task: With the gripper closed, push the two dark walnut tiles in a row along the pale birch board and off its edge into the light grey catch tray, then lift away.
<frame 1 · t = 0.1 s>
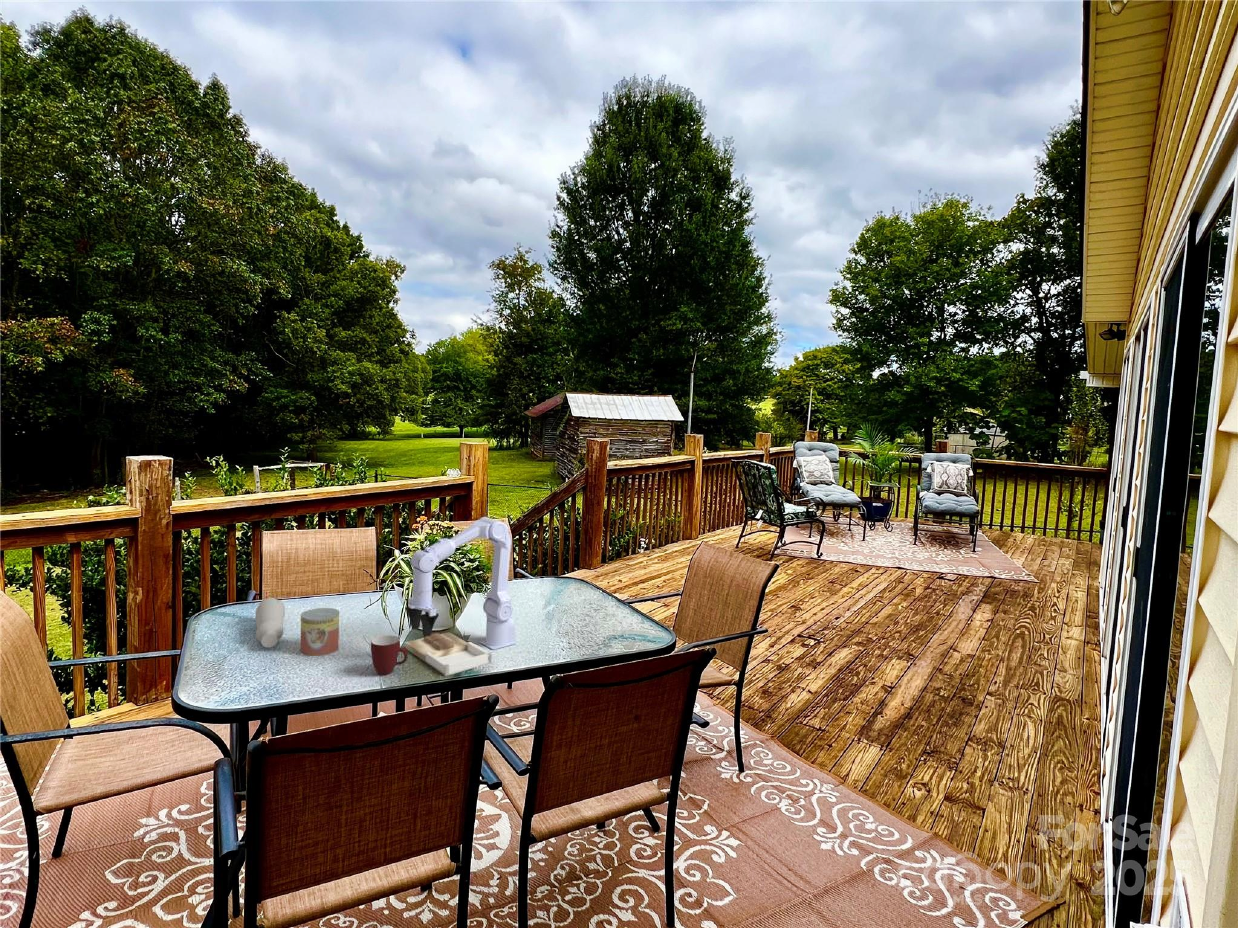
hand: (421, 632, 196), 10 cm above the table, tool pointing down, fingers open, 7 cm apart
tray: (458, 662, 199), on the table
tile 2: (443, 646, 206), point 2 cm above the table, touching board
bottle: (268, 636, 212), on the table
canned food: (319, 650, 203), on the table
board: (437, 649, 209), on the table
mug: (389, 672, 189), on the table
tile 1: (434, 641, 210), point 2 cm above the table, touching board
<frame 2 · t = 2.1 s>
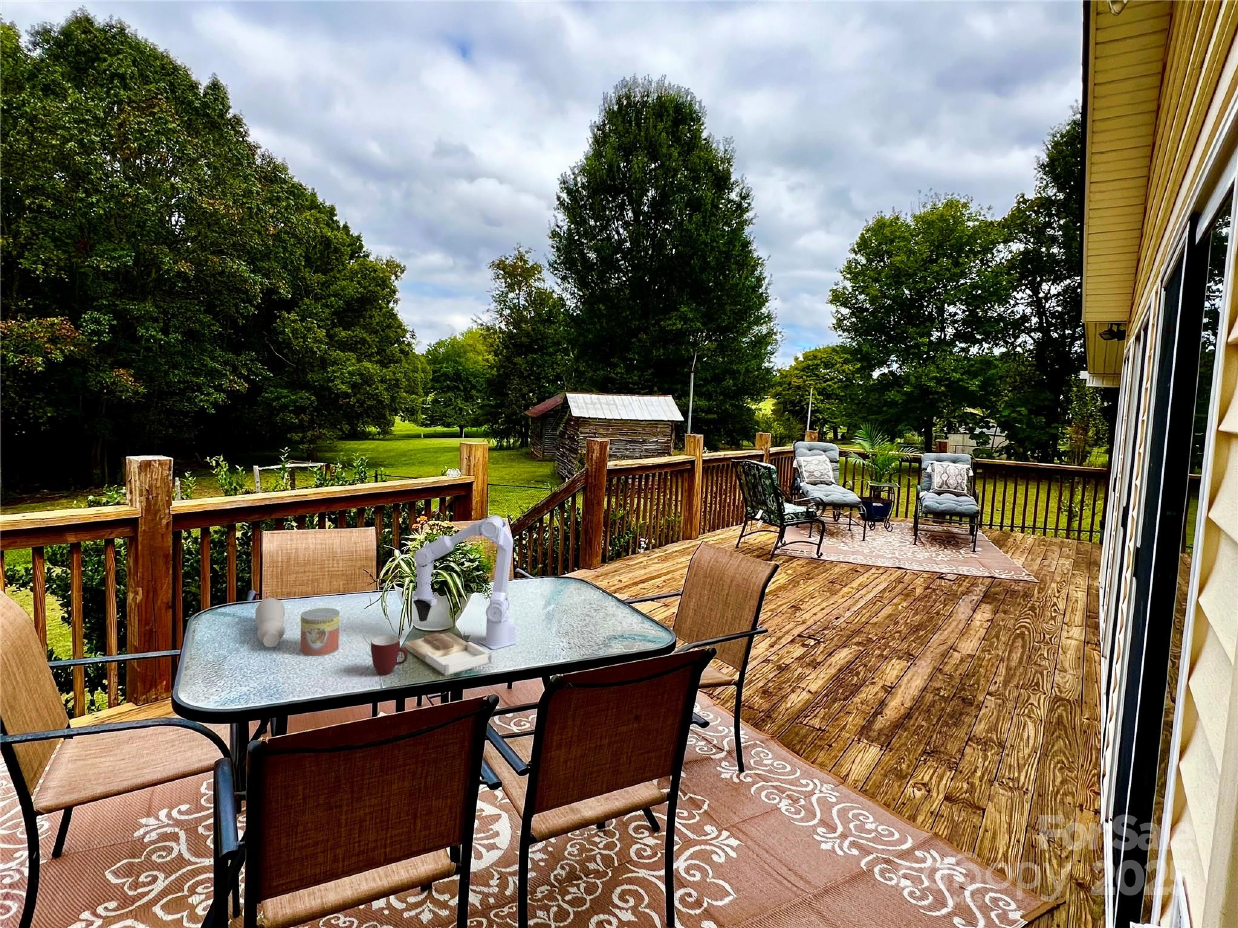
hand: (423, 620, 216), 7 cm above the table, tool pointing down, fingers closed
nothing on the table moved.
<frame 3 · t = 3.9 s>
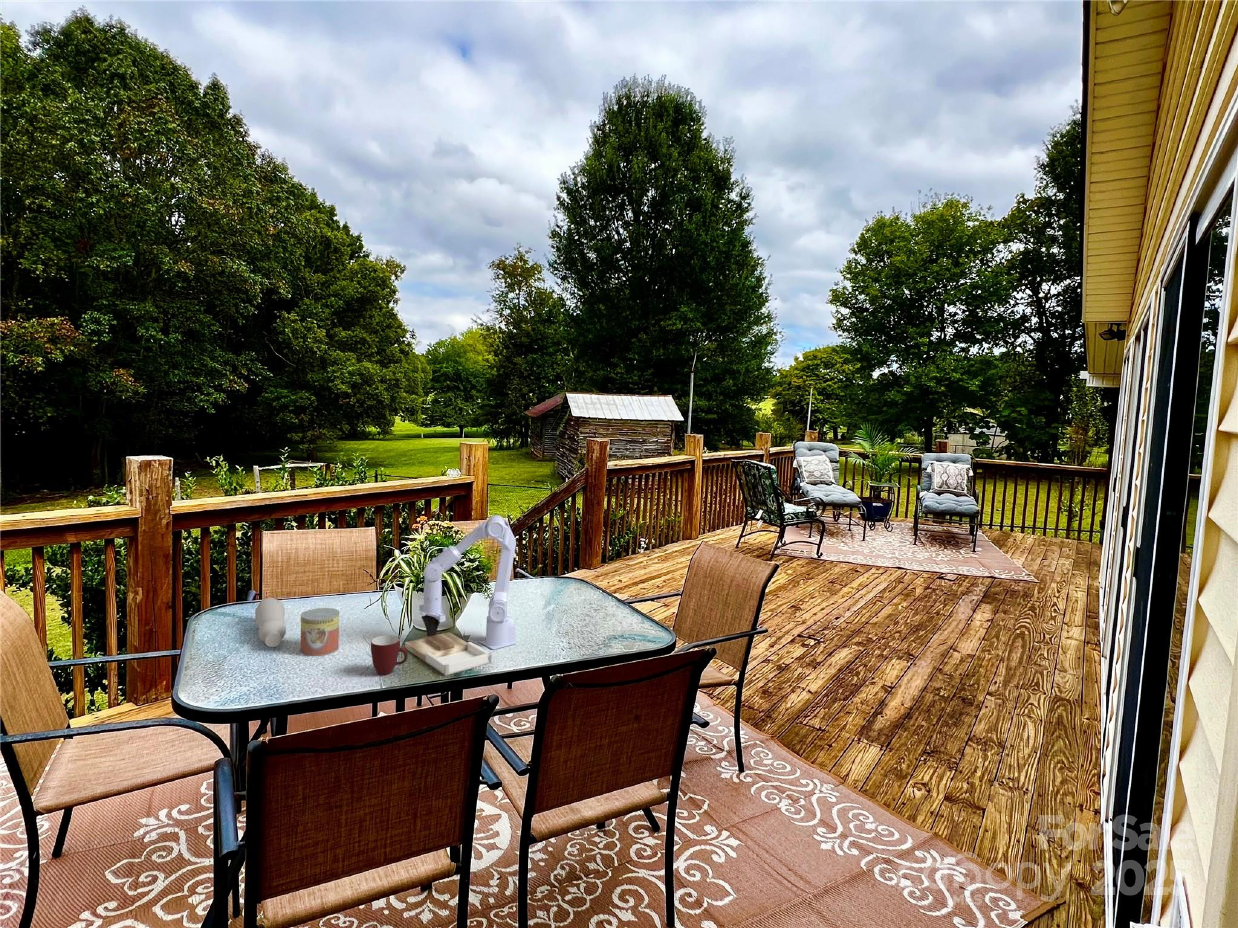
hand: (431, 636, 212), 3 cm above the table, tool pointing down, fingers closed
tile 2: (443, 646, 206), point 2 cm above the table, touching tile 1
tile 1: (436, 642, 209), point 2 cm above the table, touching board, gripper, tile 2
everything else where it was.
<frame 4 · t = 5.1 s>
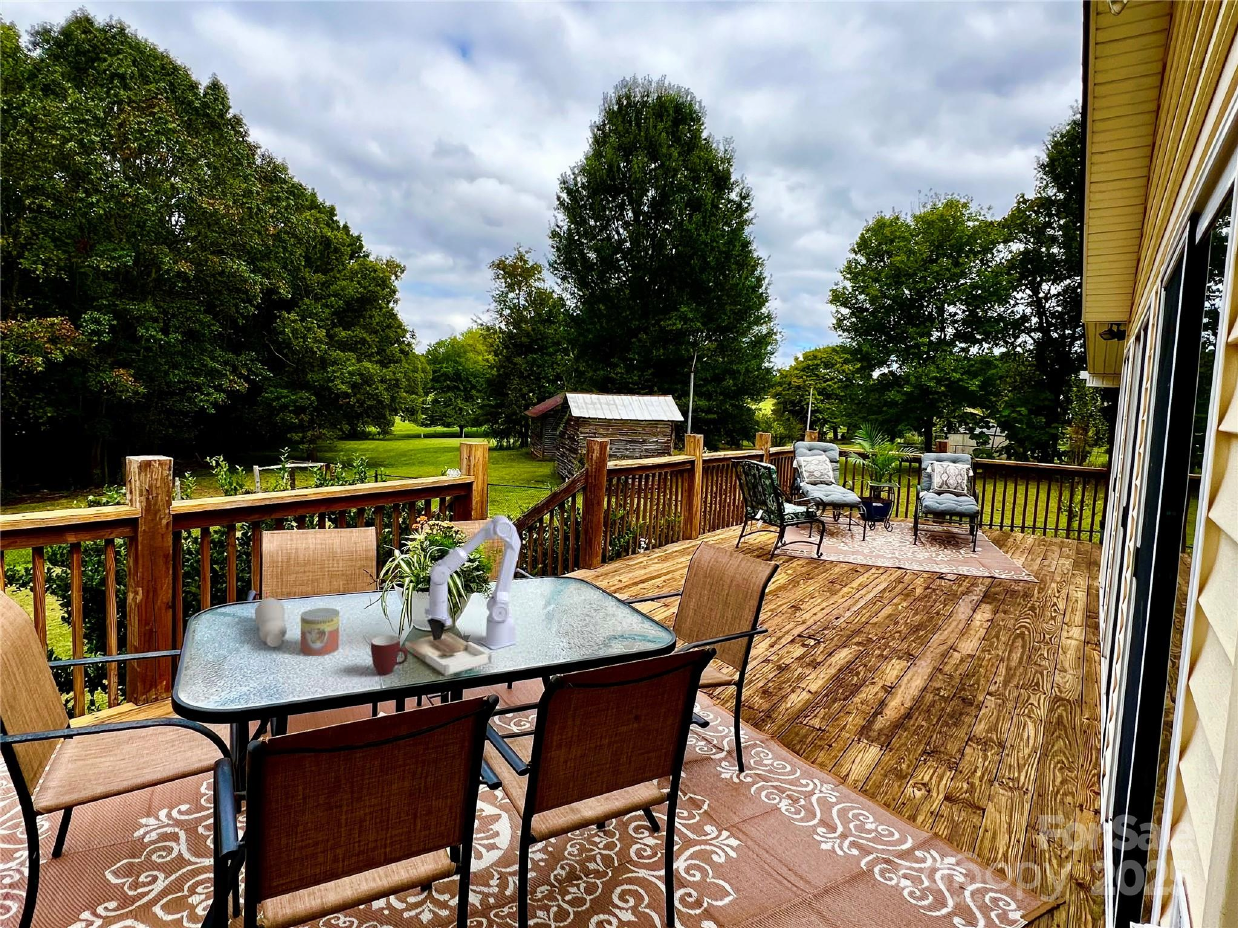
hand: (437, 640, 209), 3 cm above the table, tool pointing down, fingers closed
tile 2: (449, 650, 203), point 2 cm above the table, touching board, tile 1
tile 1: (441, 645, 206), point 2 cm above the table, touching board, gripper, tile 2
everything else where it was.
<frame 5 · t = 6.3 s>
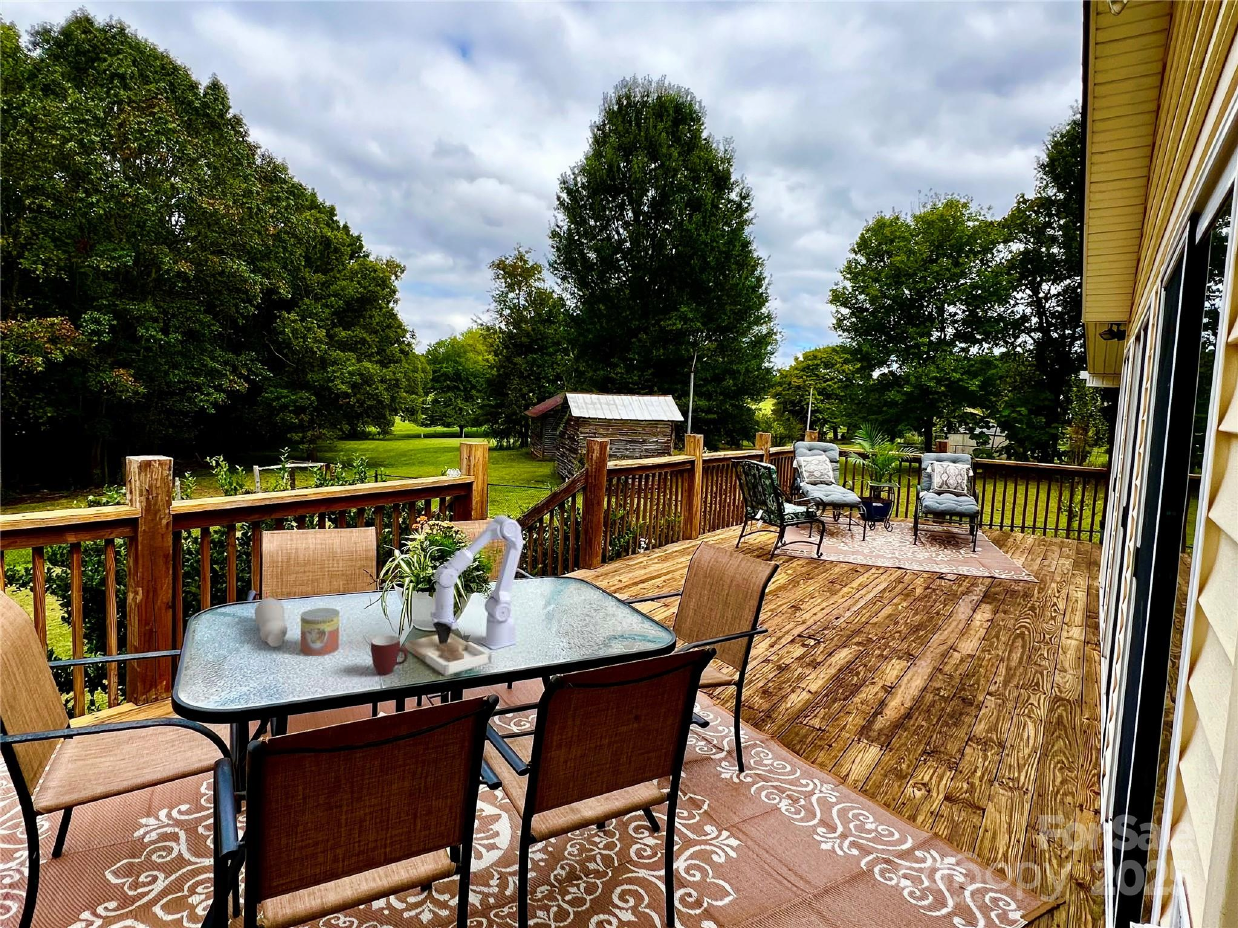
hand: (443, 643, 206), 3 cm above the table, tool pointing down, fingers closed
tile 2: (452, 657, 201), resting on tray
tile 1: (448, 649, 204), point 2 cm above the table, touching gripper
everything else where it was.
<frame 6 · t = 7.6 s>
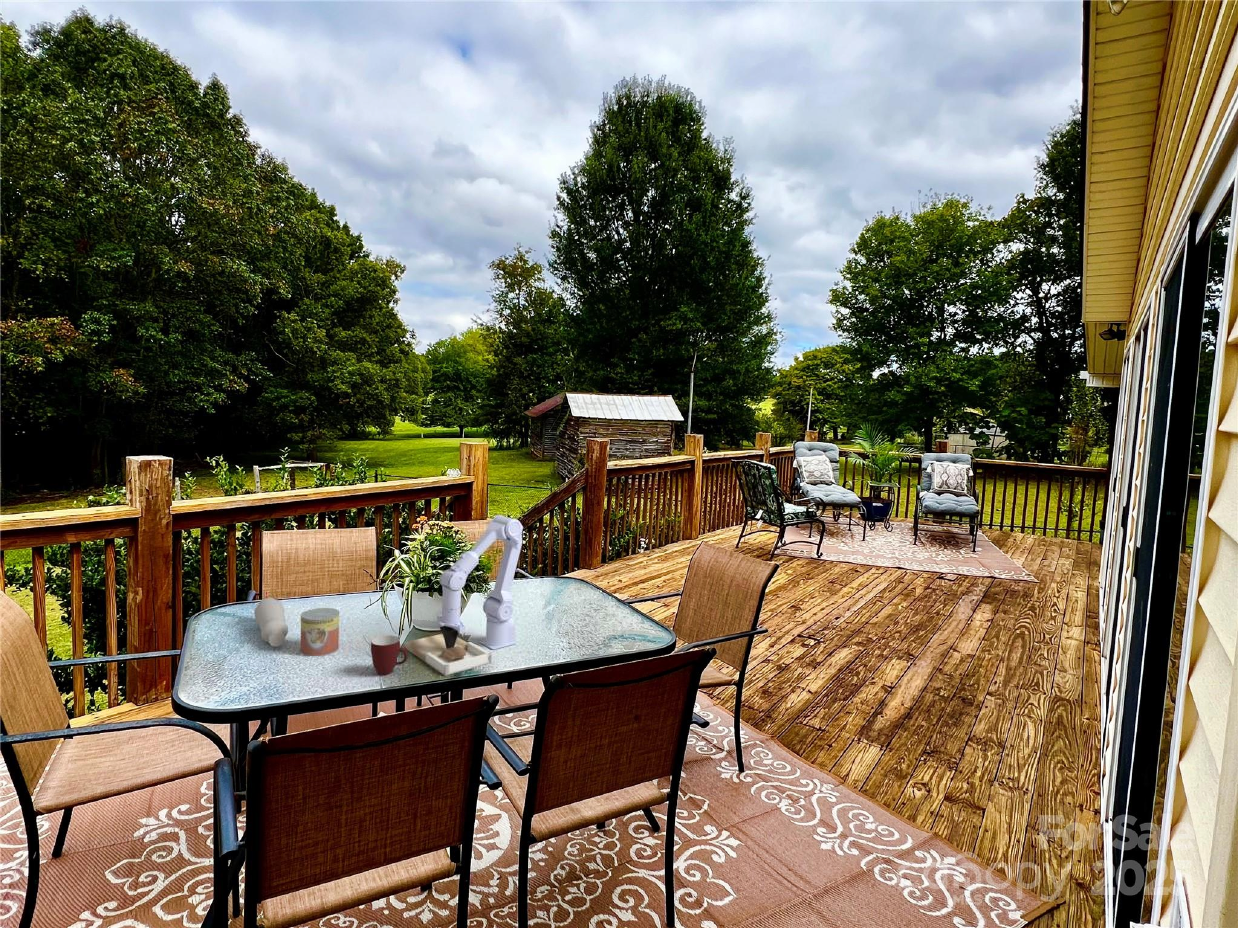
hand: (450, 648, 203), 3 cm above the table, tool pointing down, fingers closed
tile 2: (452, 657, 201), resting on tray, touching tile 1
tile 1: (454, 654, 200), point 2 cm above the table, touching gripper, tile 2
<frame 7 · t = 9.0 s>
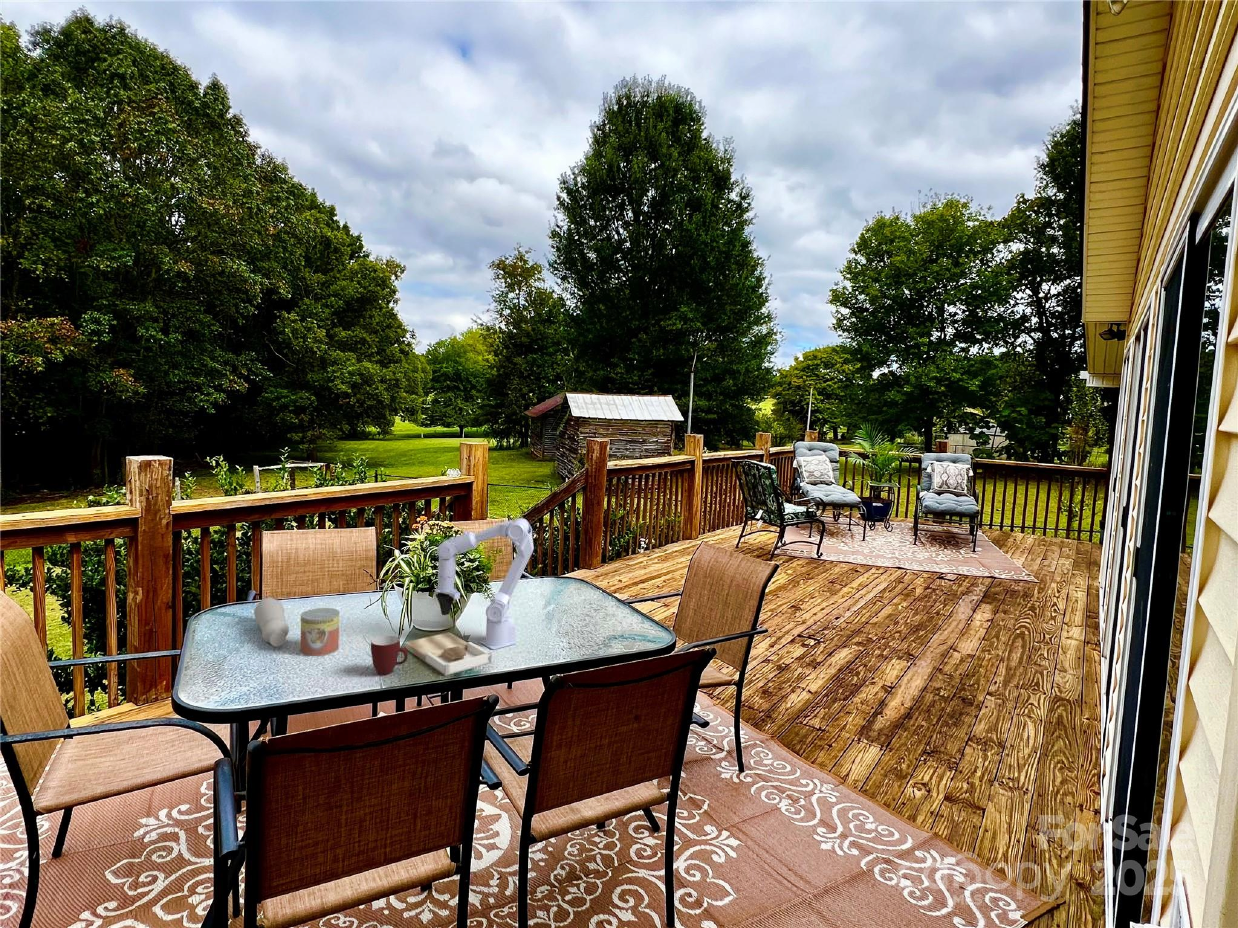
hand: (445, 614, 215), 9 cm above the table, tool pointing down, fingers closed
tile 1: (454, 654, 200), point 2 cm above the table, touching tile 2
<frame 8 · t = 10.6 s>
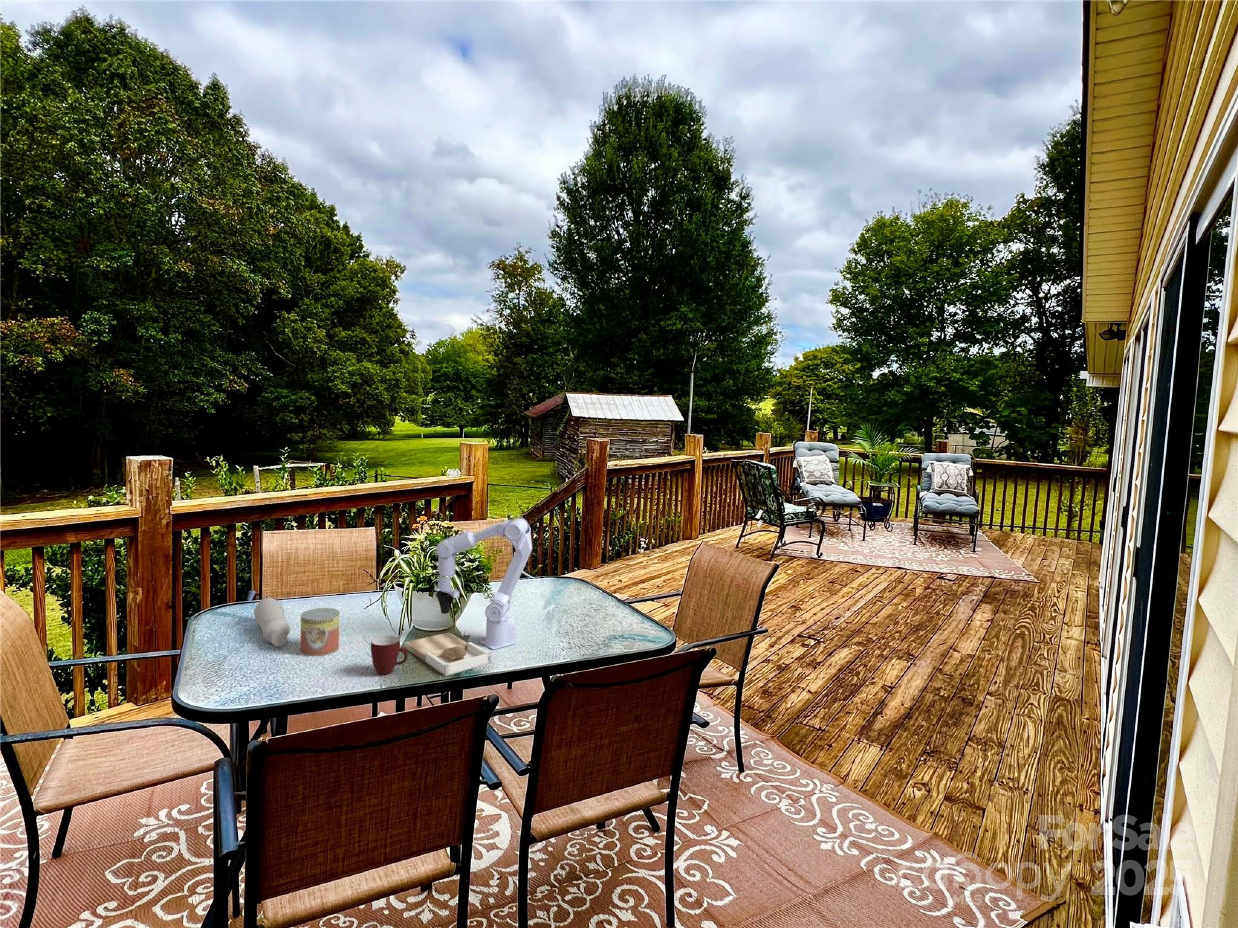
hand: (445, 612, 217), 9 cm above the table, tool pointing down, fingers closed
at the end: tile 2 inside the target area on the tray (2.9 cm from its centre), point 0.4 cm above the tray's base; tile 1 inside the target area on the tray (1.7 cm from its centre), point 1.9 cm above the tray's base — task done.
